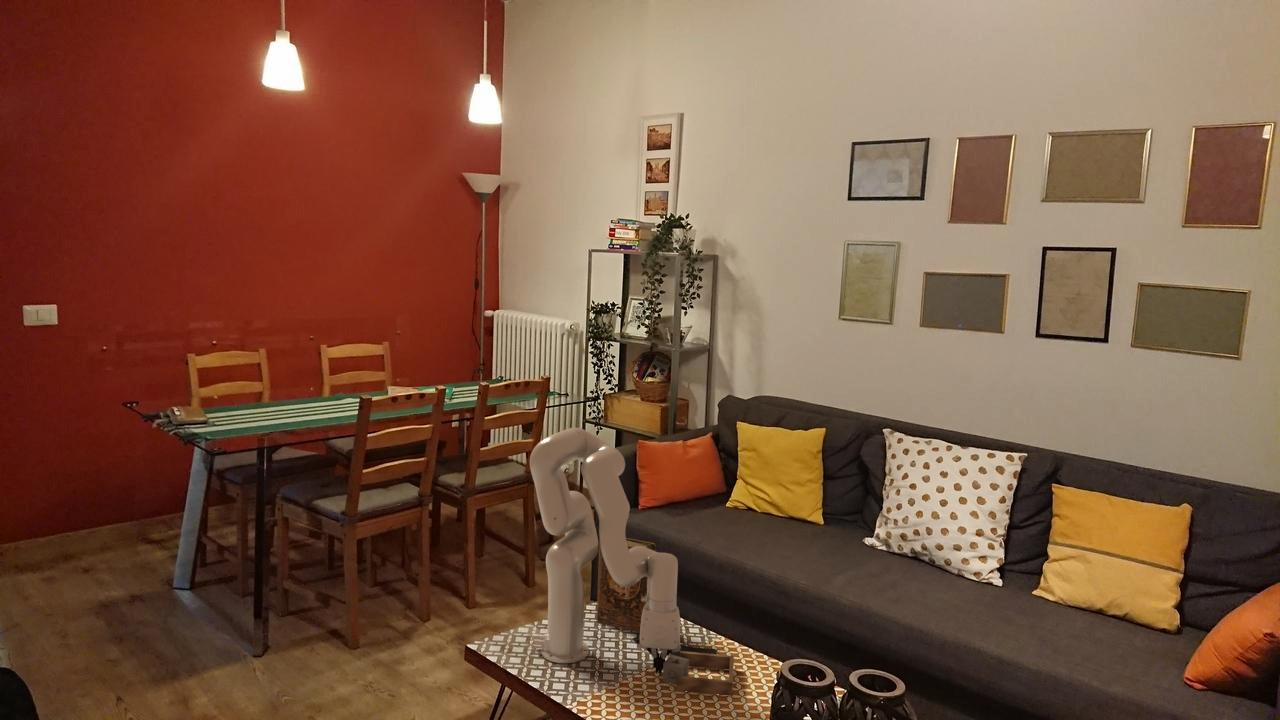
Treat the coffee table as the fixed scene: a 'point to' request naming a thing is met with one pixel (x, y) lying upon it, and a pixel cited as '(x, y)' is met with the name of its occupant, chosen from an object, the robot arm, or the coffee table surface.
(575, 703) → the coffee table surface
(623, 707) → the coffee table surface
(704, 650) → the hairbrush
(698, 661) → the box
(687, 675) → the dice cube
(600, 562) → the book
